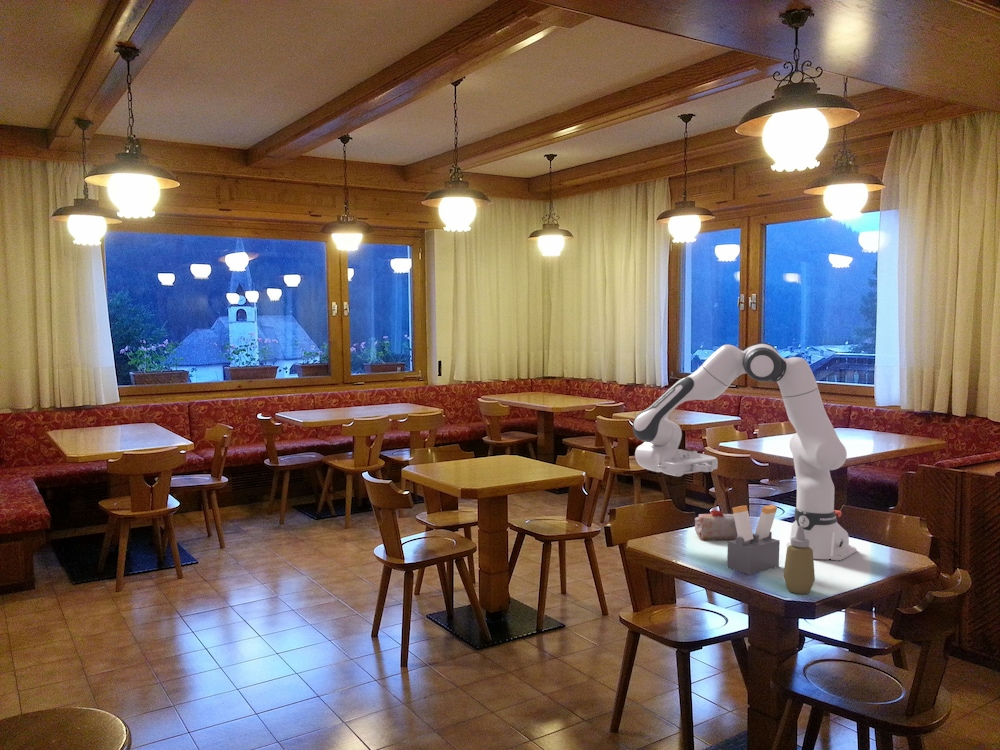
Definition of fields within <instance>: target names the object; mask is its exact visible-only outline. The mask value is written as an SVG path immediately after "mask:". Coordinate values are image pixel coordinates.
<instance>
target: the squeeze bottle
mask: <svg viewBox="0 0 1000 750" xmlns="http://www.w3.org/2000/svg"><path fill="white" fill-rule="evenodd" d="M786 547H787V546H786ZM814 561H815V559H813V550H812V549H811V548H810V547H809V540H808V539H806V538H805V534H804V529H803V526H798V529H797V533H796V537H794V538H791V545H790V546H788V547H787V548H786V554H785V562H784V566H783V567H784V568H783V574H782V576H783V580H784V583H785V586H786V589H787V591H788V592H791V593H794V594H799V595H804V594H809V593H810V592H811V591H812V588H813V585H814V583H815V581H816V575H815V563H814Z"/></svg>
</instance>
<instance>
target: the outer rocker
mask: <svg viewBox="0 0 1000 750" xmlns="http://www.w3.org/2000/svg"><path fill="white" fill-rule="evenodd" d="M732 514H733V515H734V520H735V525H736V530H737V535H738V537H740V538H744V541H747V540H751V539H754V538H753V534H754V532H753V529H752V523H751V519H750V515H749V511H748V505H740V506H734V507H732Z"/></svg>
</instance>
